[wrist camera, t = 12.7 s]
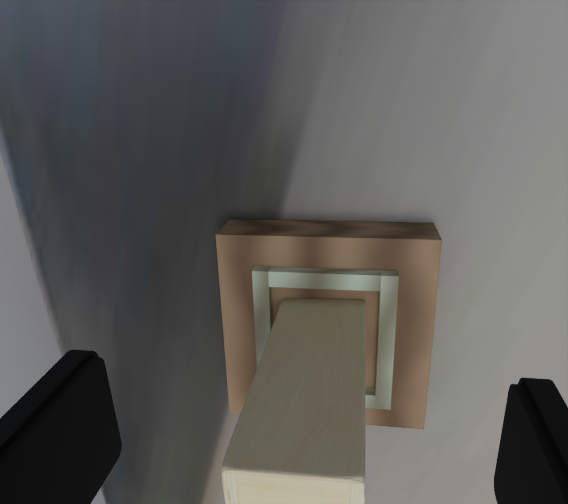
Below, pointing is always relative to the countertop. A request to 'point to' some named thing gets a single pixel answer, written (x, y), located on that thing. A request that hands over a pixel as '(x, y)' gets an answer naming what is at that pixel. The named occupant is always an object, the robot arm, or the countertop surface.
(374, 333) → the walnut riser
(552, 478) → the robot arm
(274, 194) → the countertop surface
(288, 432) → the toy refrigerator
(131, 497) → the countertop surface
